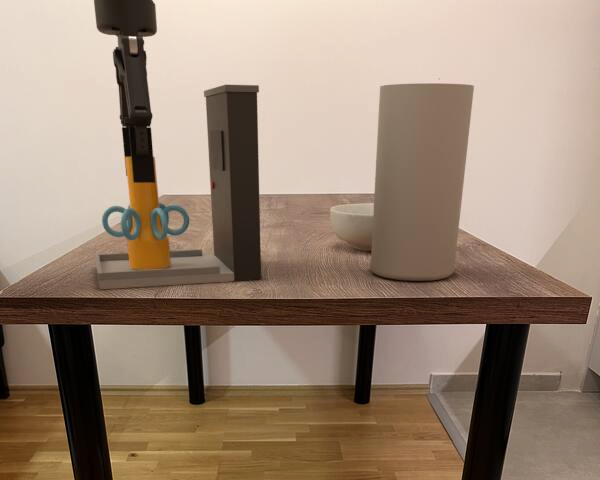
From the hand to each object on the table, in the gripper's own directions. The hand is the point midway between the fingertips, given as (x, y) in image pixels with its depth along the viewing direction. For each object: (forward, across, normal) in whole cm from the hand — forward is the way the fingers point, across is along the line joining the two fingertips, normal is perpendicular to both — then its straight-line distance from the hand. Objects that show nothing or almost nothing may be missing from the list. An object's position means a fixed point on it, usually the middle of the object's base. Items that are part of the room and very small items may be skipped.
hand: (139, 179), depth 89 cm
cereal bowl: (+13, +13, -42) cm, 46 cm away
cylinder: (+12, 0, 0) cm, 12 cm away
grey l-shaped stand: (+13, 0, -4) cm, 14 cm away
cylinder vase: (+13, -10, -38) cm, 42 cm away
